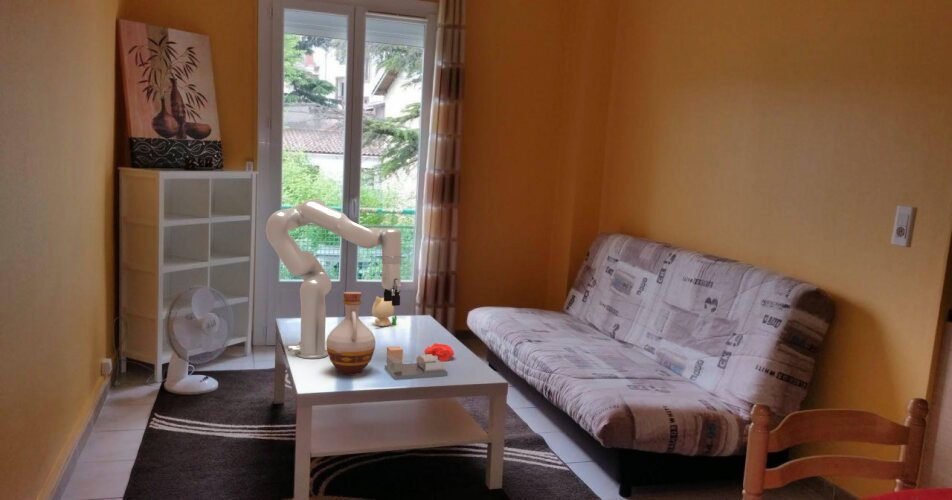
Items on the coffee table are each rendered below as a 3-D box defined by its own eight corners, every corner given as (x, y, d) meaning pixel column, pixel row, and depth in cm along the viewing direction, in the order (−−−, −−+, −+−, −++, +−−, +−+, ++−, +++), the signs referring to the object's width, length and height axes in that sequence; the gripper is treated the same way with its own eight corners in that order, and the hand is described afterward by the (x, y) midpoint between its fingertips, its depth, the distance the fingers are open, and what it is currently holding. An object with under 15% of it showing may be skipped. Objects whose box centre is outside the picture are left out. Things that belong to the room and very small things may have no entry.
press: (395, 380, 256) (396, 365, 255) (384, 369, 268) (385, 354, 268) (447, 375, 264) (448, 361, 263) (434, 365, 277) (434, 351, 276)
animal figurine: (443, 351, 299) (444, 340, 299) (457, 360, 286) (458, 348, 285) (417, 353, 294) (418, 341, 294) (431, 362, 281) (431, 350, 280)
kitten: (390, 321, 348) (391, 291, 346) (402, 326, 340) (403, 295, 339) (364, 325, 338) (365, 294, 336) (376, 329, 330) (377, 298, 329)
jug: (378, 379, 255) (381, 297, 252) (328, 381, 250) (330, 297, 247) (370, 364, 274) (373, 287, 270) (323, 365, 269) (325, 287, 265)
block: (389, 365, 274) (390, 350, 273) (386, 362, 278) (386, 347, 278) (402, 364, 276) (402, 349, 275) (398, 361, 281) (399, 346, 280)
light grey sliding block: (423, 369, 264) (424, 359, 264) (418, 365, 269) (418, 354, 269) (436, 368, 266) (436, 358, 266) (430, 364, 272) (431, 354, 271)
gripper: (375, 258, 283) (375, 300, 285) (389, 263, 268) (389, 308, 270) (393, 257, 286) (393, 298, 288) (408, 262, 271) (408, 306, 273)
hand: (391, 303), depth 279 cm, fingers open, 9 cm apart
